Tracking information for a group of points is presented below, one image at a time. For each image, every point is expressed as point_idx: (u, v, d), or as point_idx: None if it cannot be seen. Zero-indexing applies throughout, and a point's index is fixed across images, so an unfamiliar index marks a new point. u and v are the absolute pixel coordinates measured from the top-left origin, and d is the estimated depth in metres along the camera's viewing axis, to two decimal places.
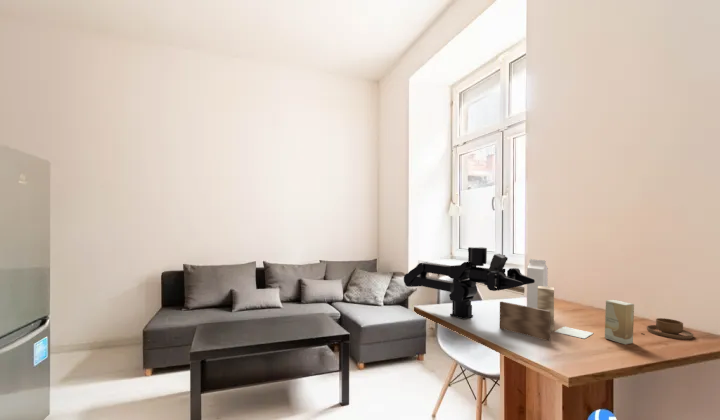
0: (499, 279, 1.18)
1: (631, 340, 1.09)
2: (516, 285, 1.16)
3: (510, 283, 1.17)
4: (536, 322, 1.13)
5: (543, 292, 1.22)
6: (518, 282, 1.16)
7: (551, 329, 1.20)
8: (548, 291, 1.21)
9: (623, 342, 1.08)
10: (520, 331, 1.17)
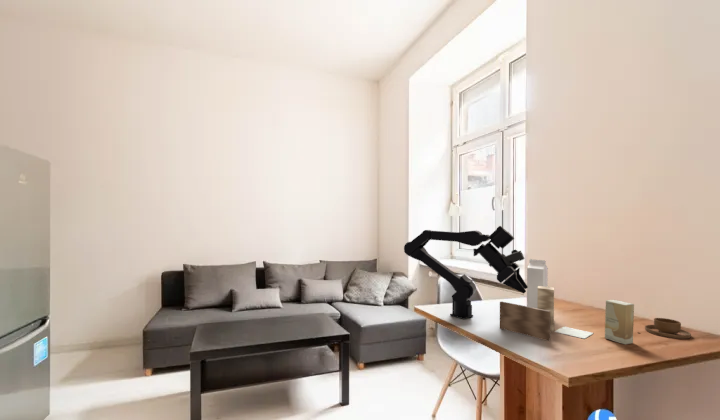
0: (511, 277, 1.22)
1: (631, 340, 1.09)
2: (519, 290, 1.23)
3: (516, 285, 1.23)
4: (536, 322, 1.13)
5: (543, 292, 1.22)
6: (523, 289, 1.22)
7: (551, 329, 1.20)
8: (547, 291, 1.21)
9: (623, 342, 1.08)
10: (520, 331, 1.17)
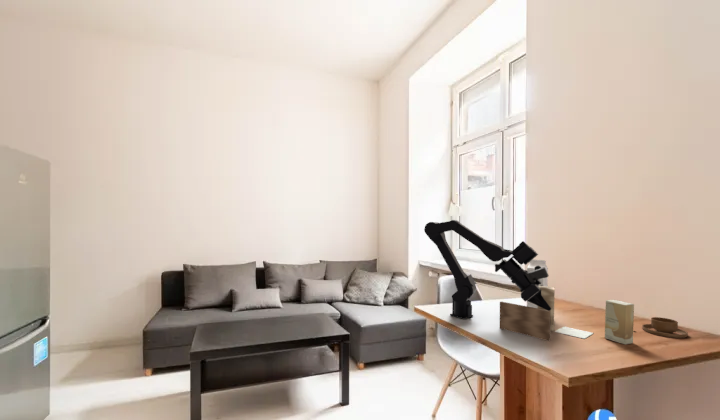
0: (536, 294, 1.20)
1: (631, 340, 1.09)
2: (544, 307, 1.21)
3: (541, 302, 1.21)
4: (536, 322, 1.13)
5: (544, 292, 1.22)
6: (548, 306, 1.20)
7: (551, 329, 1.20)
8: (548, 290, 1.21)
9: (623, 342, 1.08)
10: (520, 331, 1.17)
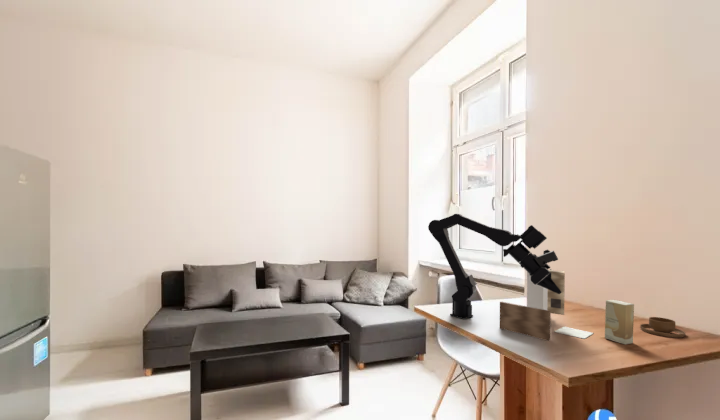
0: (546, 278, 1.19)
1: (631, 340, 1.09)
2: (554, 290, 1.19)
3: (551, 286, 1.20)
4: (536, 322, 1.13)
5: (554, 276, 1.21)
6: (558, 290, 1.19)
7: (561, 312, 1.19)
8: (558, 274, 1.20)
9: (623, 342, 1.08)
10: (520, 331, 1.17)
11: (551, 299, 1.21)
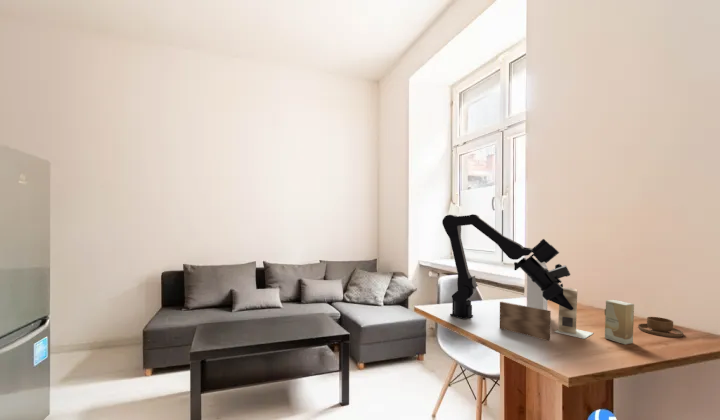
0: (558, 293, 1.17)
1: (631, 340, 1.09)
2: (566, 307, 1.18)
3: (563, 302, 1.18)
4: (536, 322, 1.13)
5: (566, 294, 1.19)
6: (570, 306, 1.17)
7: (573, 331, 1.17)
8: (570, 292, 1.18)
9: (623, 342, 1.08)
10: (520, 331, 1.17)
11: (563, 317, 1.19)
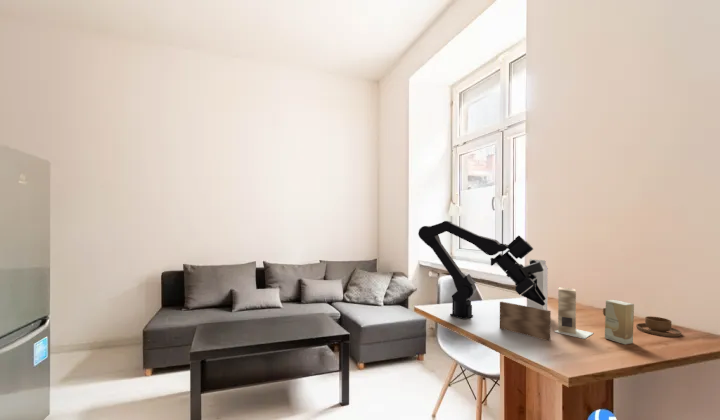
0: (530, 289, 1.19)
1: (631, 340, 1.09)
2: (538, 302, 1.20)
3: (535, 297, 1.20)
4: (536, 322, 1.13)
5: (565, 294, 1.19)
6: (542, 301, 1.20)
7: (573, 331, 1.17)
8: (569, 292, 1.18)
9: (623, 342, 1.08)
10: (520, 331, 1.17)
11: (562, 317, 1.19)
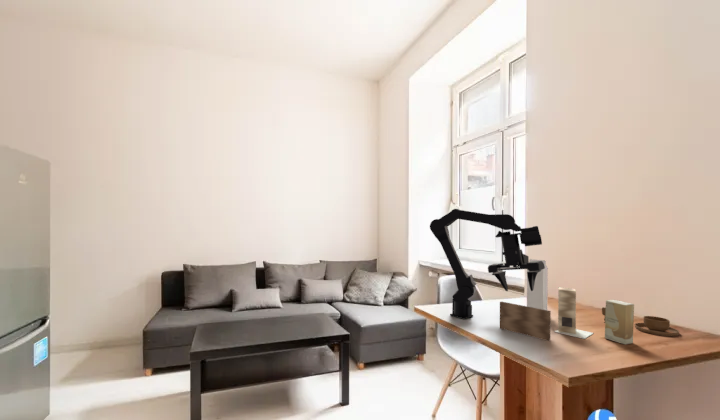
0: (537, 271, 1.25)
1: (631, 340, 1.09)
2: (532, 286, 1.25)
3: (533, 280, 1.25)
4: (536, 322, 1.13)
5: (565, 294, 1.19)
6: (533, 287, 1.26)
7: (573, 331, 1.17)
8: (569, 292, 1.18)
9: (623, 342, 1.08)
10: (520, 331, 1.17)
11: (562, 317, 1.19)
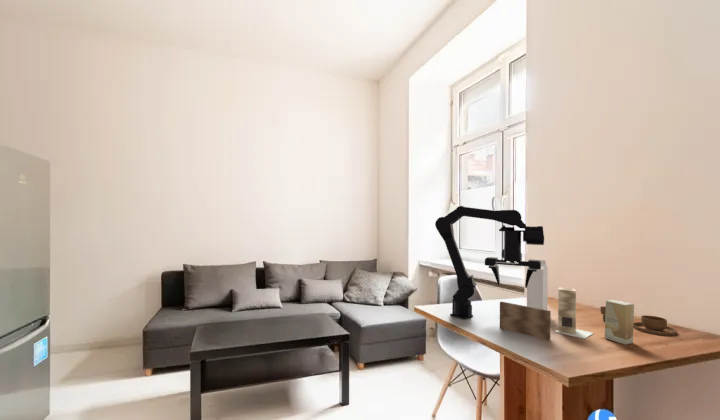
0: None
1: (631, 340, 1.09)
2: (527, 283, 1.27)
3: (529, 278, 1.28)
4: (536, 322, 1.13)
5: (565, 294, 1.19)
6: (527, 284, 1.28)
7: (573, 331, 1.17)
8: (569, 292, 1.18)
9: (623, 342, 1.08)
10: (520, 331, 1.17)
11: (562, 317, 1.19)
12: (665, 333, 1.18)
